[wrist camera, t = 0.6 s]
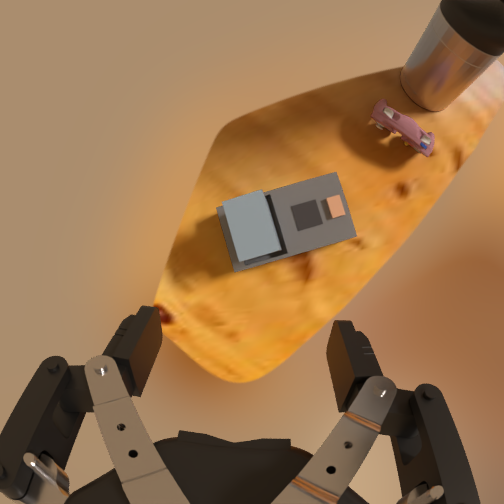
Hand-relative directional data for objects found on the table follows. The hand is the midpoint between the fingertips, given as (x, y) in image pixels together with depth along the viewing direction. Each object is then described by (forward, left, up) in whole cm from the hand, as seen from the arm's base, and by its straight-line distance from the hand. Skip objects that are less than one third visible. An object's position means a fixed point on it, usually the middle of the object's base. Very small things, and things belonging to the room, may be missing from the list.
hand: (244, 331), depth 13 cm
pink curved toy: (-23, -14, -25) cm, 37 cm away
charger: (0, -6, -23) cm, 24 cm away
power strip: (-4, -6, -25) cm, 26 cm away
